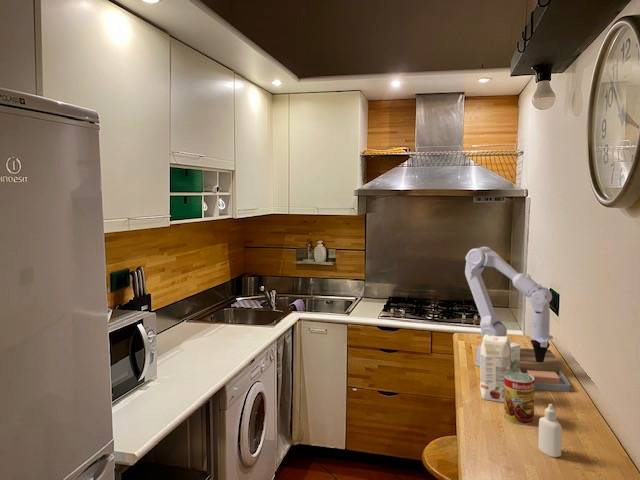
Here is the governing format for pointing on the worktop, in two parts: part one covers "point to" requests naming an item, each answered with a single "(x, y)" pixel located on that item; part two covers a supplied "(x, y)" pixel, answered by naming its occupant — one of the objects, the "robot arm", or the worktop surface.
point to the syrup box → (515, 357)
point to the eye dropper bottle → (550, 433)
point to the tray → (562, 385)
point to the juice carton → (494, 366)
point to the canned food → (519, 398)
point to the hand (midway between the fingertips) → (539, 361)
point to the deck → (530, 362)
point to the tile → (544, 377)
